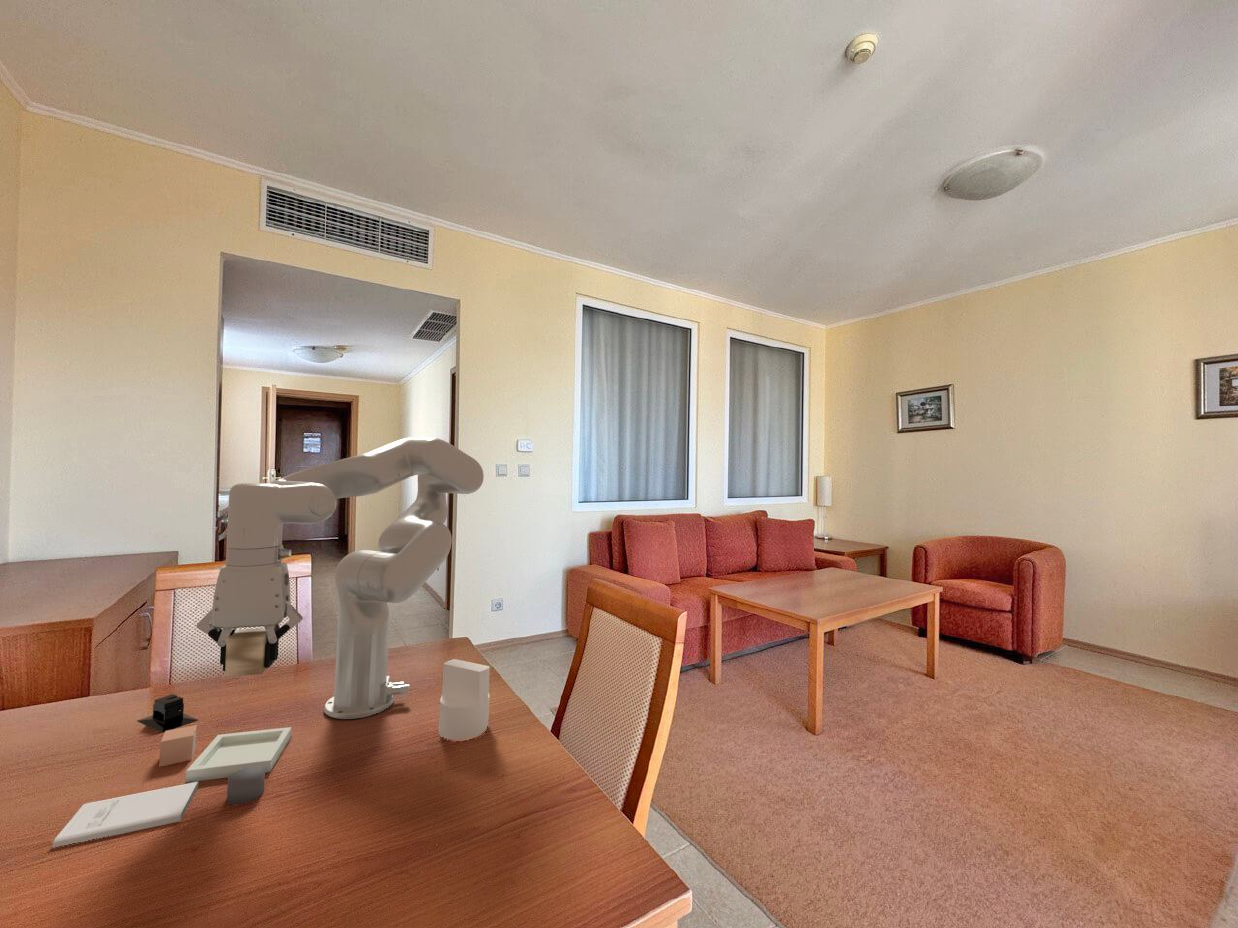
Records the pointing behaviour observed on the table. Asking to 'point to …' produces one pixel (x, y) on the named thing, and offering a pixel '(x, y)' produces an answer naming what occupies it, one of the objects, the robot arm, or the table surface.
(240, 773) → the grey rounded lump
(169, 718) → the black boxy piece
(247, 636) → the beech block
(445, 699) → the white rounded pedestal block
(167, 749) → the terracotta cube
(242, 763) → the tray
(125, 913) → the table surface
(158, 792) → the external hard drive
